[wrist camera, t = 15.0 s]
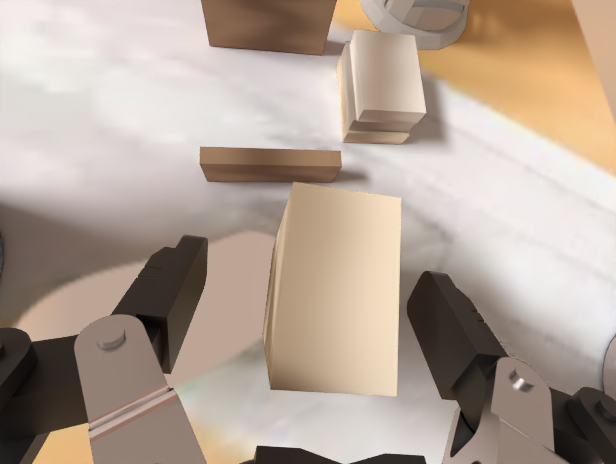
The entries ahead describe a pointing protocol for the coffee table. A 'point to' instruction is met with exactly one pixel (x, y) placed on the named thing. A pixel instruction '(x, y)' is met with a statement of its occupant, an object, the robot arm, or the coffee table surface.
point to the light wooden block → (334, 293)
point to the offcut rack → (282, 38)
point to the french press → (420, 19)
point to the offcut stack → (379, 87)
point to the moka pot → (1, 254)
